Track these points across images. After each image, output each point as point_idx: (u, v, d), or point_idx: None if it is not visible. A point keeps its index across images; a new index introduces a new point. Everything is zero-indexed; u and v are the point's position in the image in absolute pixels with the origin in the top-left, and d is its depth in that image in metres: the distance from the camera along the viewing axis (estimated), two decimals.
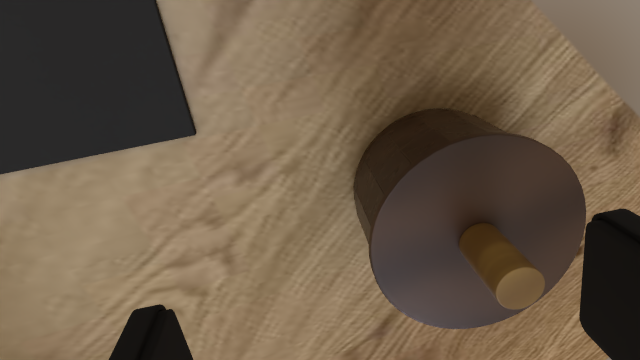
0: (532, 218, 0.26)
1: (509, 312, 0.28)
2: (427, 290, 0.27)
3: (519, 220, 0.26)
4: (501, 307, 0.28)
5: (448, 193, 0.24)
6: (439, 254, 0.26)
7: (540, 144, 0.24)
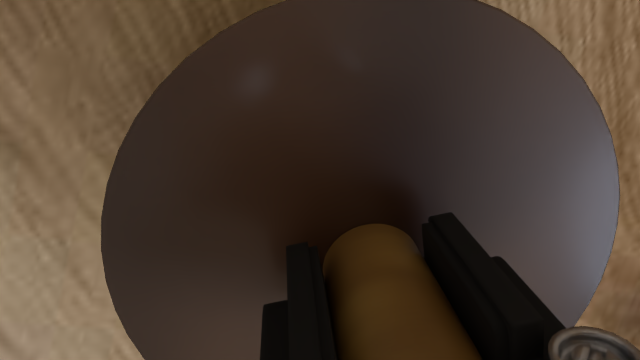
0: (390, 141, 0.10)
1: (592, 263, 0.12)
2: None
3: (376, 171, 0.10)
4: (567, 274, 0.12)
5: (217, 286, 0.11)
6: None
7: (195, 54, 0.09)
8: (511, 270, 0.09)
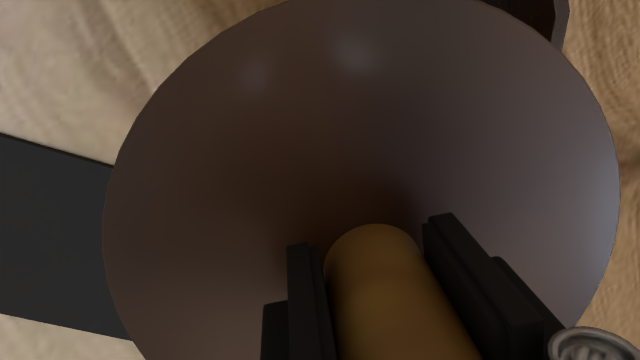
0: (391, 141, 0.10)
1: (593, 263, 0.12)
2: None
3: (377, 171, 0.10)
4: (567, 274, 0.12)
5: (218, 286, 0.11)
6: None
7: (196, 54, 0.09)
8: (511, 270, 0.09)
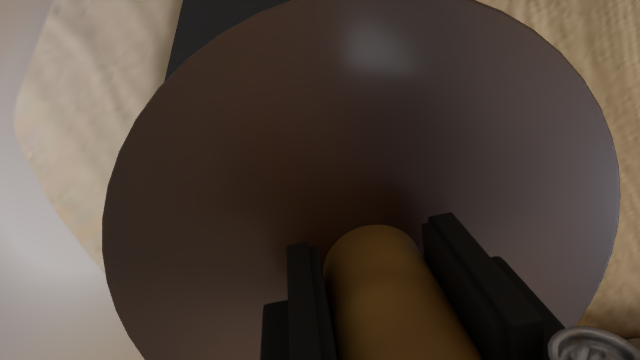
0: (391, 142, 0.10)
1: (593, 264, 0.12)
2: None
3: (377, 172, 0.10)
4: (567, 275, 0.12)
5: (218, 287, 0.11)
6: None
7: (196, 55, 0.09)
8: (511, 271, 0.09)
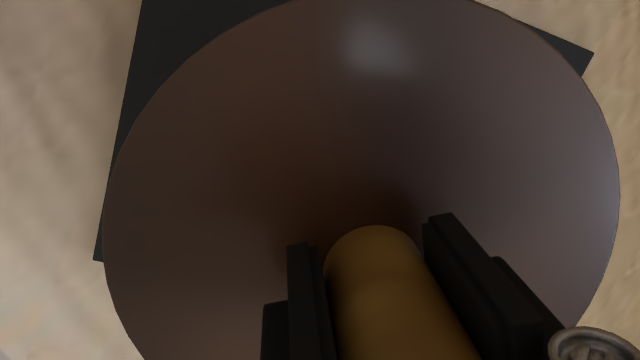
0: (391, 142, 0.10)
1: (593, 264, 0.12)
2: None
3: (377, 172, 0.10)
4: (567, 275, 0.12)
5: (217, 287, 0.11)
6: None
7: (196, 56, 0.09)
8: (511, 271, 0.09)
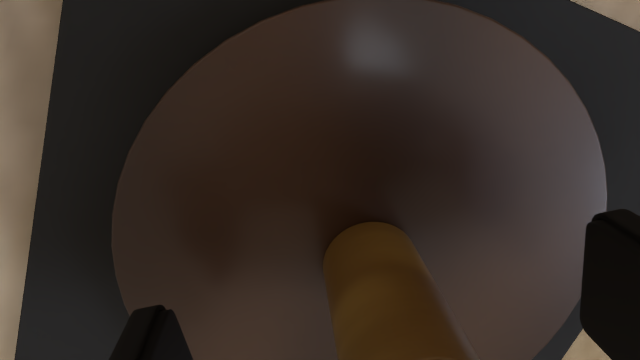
0: (387, 143, 0.10)
1: (582, 260, 0.12)
2: None
3: (374, 171, 0.11)
4: (557, 270, 0.12)
5: (221, 281, 0.11)
6: None
7: (202, 60, 0.09)
8: None
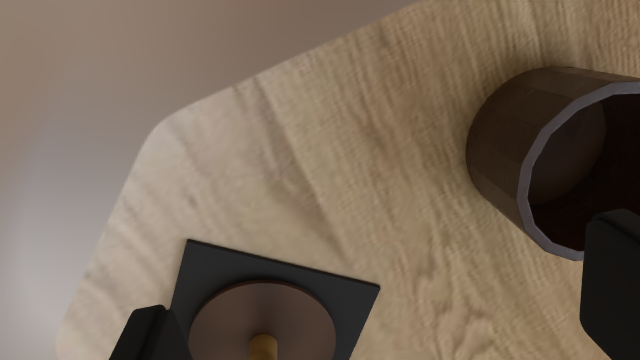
0: (264, 314, 0.38)
1: (331, 342, 0.39)
2: None
3: (261, 321, 0.38)
4: (323, 345, 0.39)
5: (219, 351, 0.39)
6: None
7: (213, 299, 0.37)
8: None
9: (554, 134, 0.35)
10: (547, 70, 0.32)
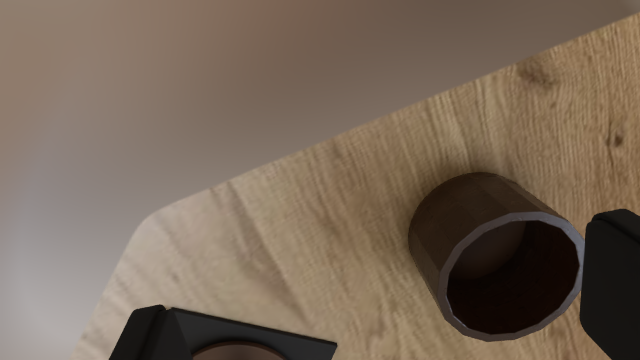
0: None
1: None
2: None
3: None
4: None
5: None
6: None
7: None
8: None
9: None
10: (472, 180, 0.38)
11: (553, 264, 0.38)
